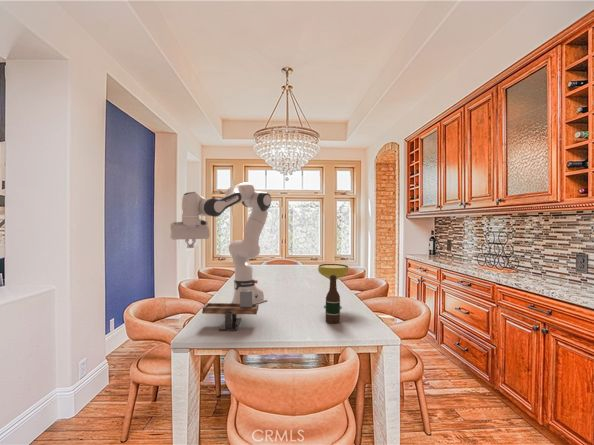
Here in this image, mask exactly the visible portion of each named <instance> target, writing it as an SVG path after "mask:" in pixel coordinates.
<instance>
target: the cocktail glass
mask: <svg viewBox="0 0 594 445" xmlns="http://www.w3.org/2000/svg"><path fill="white" fill-rule="evenodd" d="M317 270H318V273H319V274H320V275H322V276H323V277H325V278H327V279H328V280H330V275H336V277H337V278H336V281H337V280H339V279H340V278H343V277H344V276H345V277H346V275H347V274H348V273H349V266H348V265H346V264H341V263H340V264H339V263H324V264H323V263H322V264H319V265H318V267H317ZM342 307H343V306H341V305H340V310H341V309H342ZM323 308H325V309H326V304H325V305H323Z"/></svg>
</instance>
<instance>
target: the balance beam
mask: <svg viewBox="0 0 594 445" xmlns="http://www.w3.org/2000/svg"><path fill="white" fill-rule="evenodd" d="M201 311H202V312H201V313H202V314H203V315H205V314H207V315H208V314H209V315H210V314H211V315H225V313H226V312H232V314H237V315H257V313H258V311H259V303H256V304H253V308H240V304H237V303H232V302H230V303H226V302H225V303H223V302H220V303H219V302H207V303H206V304H205V305H204V306H202V310H201ZM202 314H201V315H202Z"/></svg>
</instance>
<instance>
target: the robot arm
mask: <svg viewBox="0 0 594 445" xmlns="http://www.w3.org/2000/svg"><path fill="white" fill-rule="evenodd" d="M181 200H182V201H181V208H182V215H181V221H174V222H172V223H171V224H170V239H171V240H175V241H176V240H178V241H179V240H184V241H185V243H186V245H187V246H186V247H187V249H190V248H194V246H195V243H196V242H197V240H206V239H209V238H210V229H209V226H208V225H209V222H208V221H206V220H204V219H201V218H200V216H202V217H215V218H216V217H219V216H221V215H222V214H223V213H224V211H226V209H228V208H230V207H233V206H234V205H237V204H240V203H241V204H242V206H244V207H246V208H250V209H251V213H250V215H249V217H248V219H247V220H246V223H245V225H244V227H243V233H244V236H243V240H241V239H236V240H233V241H231V242H230V243H229V245H228V252H229V254H230V255H231V257H232V261H233V264H234V279H233V288H234V290H233V291H234V292H233V296H232V301H231V303H237V304H240V291H241V290H242V289H244V290H254V299H253V304H261V303H265V302H267V301H268V298H267V297H266V296H265V293H264V291H263V290H262V289H261V288H260V287H258V286H257V285H256V284H258V281H259V280H257V279H253V272H254V270H253V266H252V264H251V263H250V259H256V258H258V257H259V256H260V253H261V247H260V245H259V243H260V242H259V241H260V236H261V234H262V231H263V230H264V229H263V228H264V226H265V224H266V221H267V218H268V210H269V208H270V206H271V204H272V196H271V194H270V193H269V192H266V191H259V190H255V187H254V185H253V184H252V183H251V182H249V181H248V182H241V183H237V184H235V185H231V186H230V187H229V188H227V190H226V192H225V196H222V197H212V198H205V197H204V196H201V195H200V194H199V193H198V192H197V191H191V192H185V193H183V196H182V199H181ZM190 240H191V241H192V242H191V243H189V242H190Z"/></svg>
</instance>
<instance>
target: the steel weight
mask: <svg viewBox="0 0 594 445" xmlns="http://www.w3.org/2000/svg"><path fill="white" fill-rule="evenodd" d="M253 299H254V290H244V289H242V290H241V291H240V308H253Z"/></svg>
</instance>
